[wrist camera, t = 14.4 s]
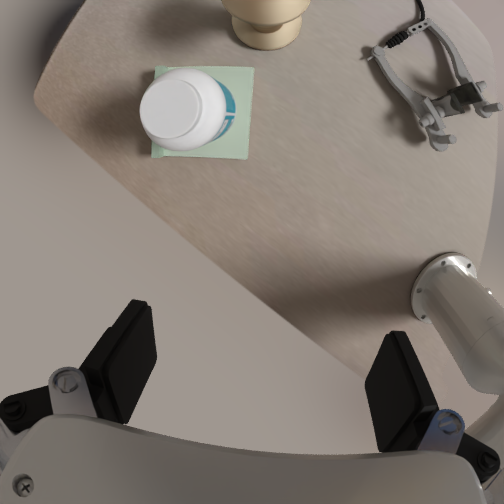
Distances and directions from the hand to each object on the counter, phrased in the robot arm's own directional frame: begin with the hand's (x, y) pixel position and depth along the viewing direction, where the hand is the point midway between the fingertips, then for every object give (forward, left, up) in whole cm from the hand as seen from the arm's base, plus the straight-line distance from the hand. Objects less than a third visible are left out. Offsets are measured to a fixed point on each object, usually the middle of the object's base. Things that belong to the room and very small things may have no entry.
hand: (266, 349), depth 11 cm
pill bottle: (+8, -9, -27) cm, 29 cm away
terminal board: (+8, -9, -28) cm, 30 cm away
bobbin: (+2, -21, -28) cm, 35 cm away
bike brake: (-18, -19, -28) cm, 39 cm away
